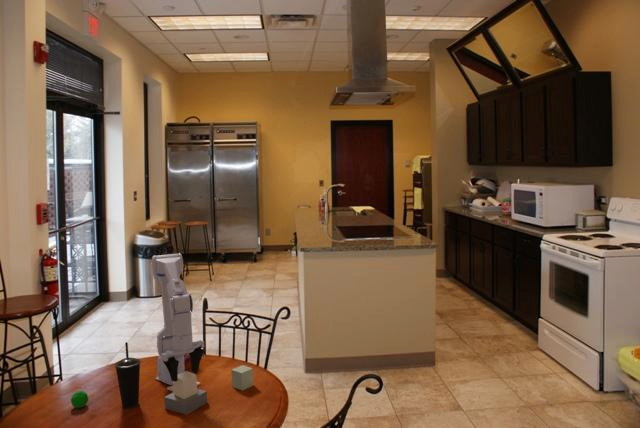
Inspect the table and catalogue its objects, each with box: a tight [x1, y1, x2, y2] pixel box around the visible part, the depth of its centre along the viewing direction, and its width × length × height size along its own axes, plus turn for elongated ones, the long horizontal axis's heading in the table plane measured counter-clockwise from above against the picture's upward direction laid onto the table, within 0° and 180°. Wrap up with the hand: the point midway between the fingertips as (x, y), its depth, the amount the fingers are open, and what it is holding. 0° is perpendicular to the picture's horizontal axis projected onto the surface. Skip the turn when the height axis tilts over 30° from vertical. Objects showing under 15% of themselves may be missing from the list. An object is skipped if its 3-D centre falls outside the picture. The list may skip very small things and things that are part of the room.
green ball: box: [70, 390, 89, 409], centre depth 161 cm, size 5×5×5 cm
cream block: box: [172, 370, 198, 399], centre depth 160 cm, size 5×5×6 cm
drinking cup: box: [114, 341, 142, 409], centre depth 161 cm, size 8×8×20 cm
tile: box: [166, 381, 201, 393], centre depth 174 cm, size 6×9×1 cm, turn 141°
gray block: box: [163, 388, 208, 415], centre depth 160 cm, size 9×9×4 cm
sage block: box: [231, 364, 254, 391], centre depth 173 cm, size 5×5×6 cm
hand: (184, 376), depth 160 cm, fingers open, 7 cm apart
